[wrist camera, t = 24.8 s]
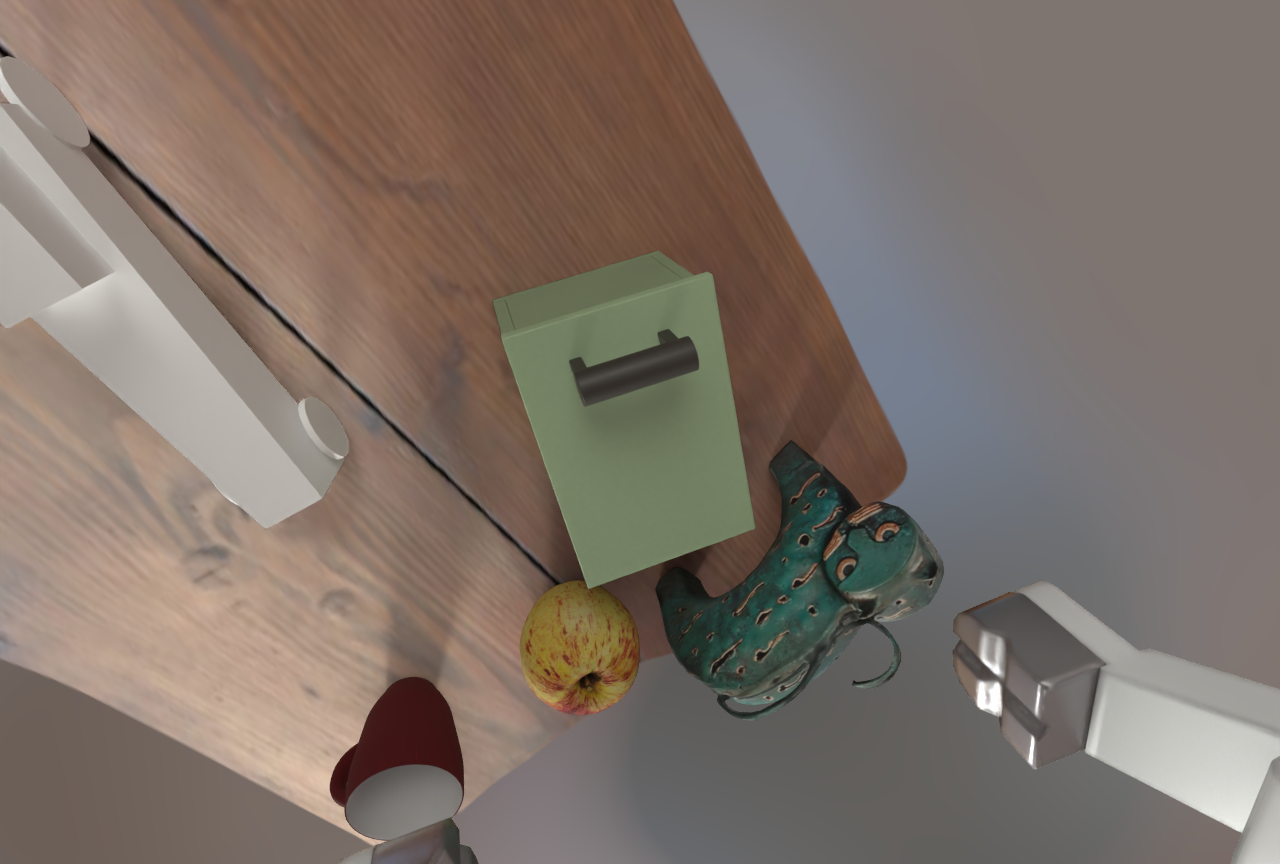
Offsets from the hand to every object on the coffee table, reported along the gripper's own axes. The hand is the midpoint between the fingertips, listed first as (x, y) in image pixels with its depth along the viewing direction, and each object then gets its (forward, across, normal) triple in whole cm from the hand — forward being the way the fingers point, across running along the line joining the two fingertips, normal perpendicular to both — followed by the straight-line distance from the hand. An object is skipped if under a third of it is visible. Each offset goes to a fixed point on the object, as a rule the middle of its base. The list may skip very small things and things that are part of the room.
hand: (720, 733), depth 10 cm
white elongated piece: (+37, +19, -2) cm, 42 cm away
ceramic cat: (+37, -12, +27) cm, 48 cm away
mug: (+37, +20, +33) cm, 54 cm away
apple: (+37, +4, +29) cm, 47 cm away
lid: (+27, -4, +10) cm, 29 cm away
